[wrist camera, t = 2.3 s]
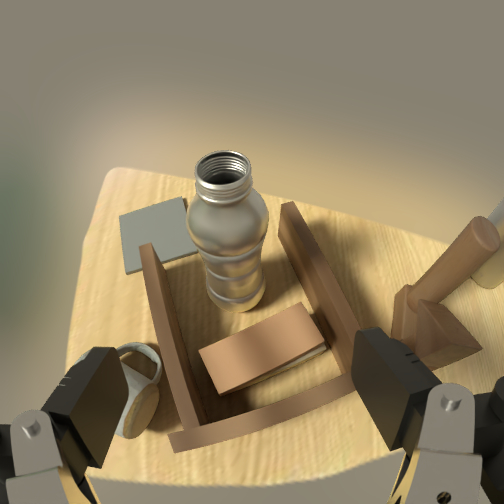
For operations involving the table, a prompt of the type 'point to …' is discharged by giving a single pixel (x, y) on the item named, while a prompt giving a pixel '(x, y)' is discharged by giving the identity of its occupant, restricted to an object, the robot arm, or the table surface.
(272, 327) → the tan rectangular block
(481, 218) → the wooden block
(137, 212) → the slate mat
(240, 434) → the walnut rack
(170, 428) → the table surface
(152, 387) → the ceramic mug
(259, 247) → the silver bottle
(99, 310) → the table surface
